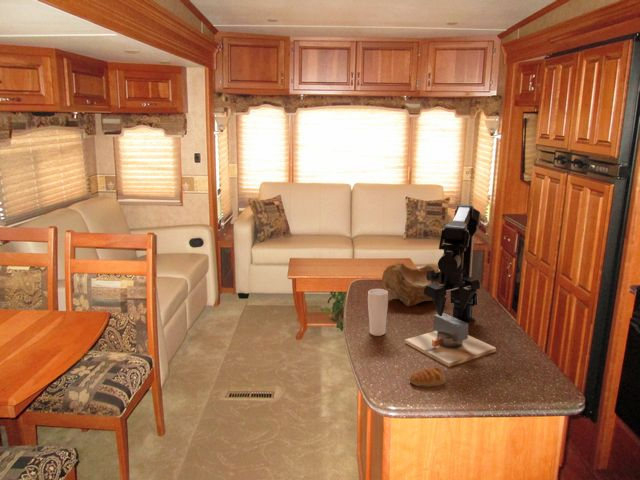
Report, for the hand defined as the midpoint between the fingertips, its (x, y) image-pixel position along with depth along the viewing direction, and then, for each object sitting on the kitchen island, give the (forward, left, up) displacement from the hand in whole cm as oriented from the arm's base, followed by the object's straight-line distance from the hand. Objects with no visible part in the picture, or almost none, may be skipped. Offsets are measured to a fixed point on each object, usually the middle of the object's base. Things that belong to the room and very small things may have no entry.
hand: (451, 313), depth 166 cm
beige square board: (0, 0, -12) cm, 12 cm away
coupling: (+2, 0, -10) cm, 10 cm away
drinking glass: (+13, -21, -12) cm, 27 cm away
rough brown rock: (-18, -39, -12) cm, 44 cm away
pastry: (+21, +14, -12) cm, 28 cm away
